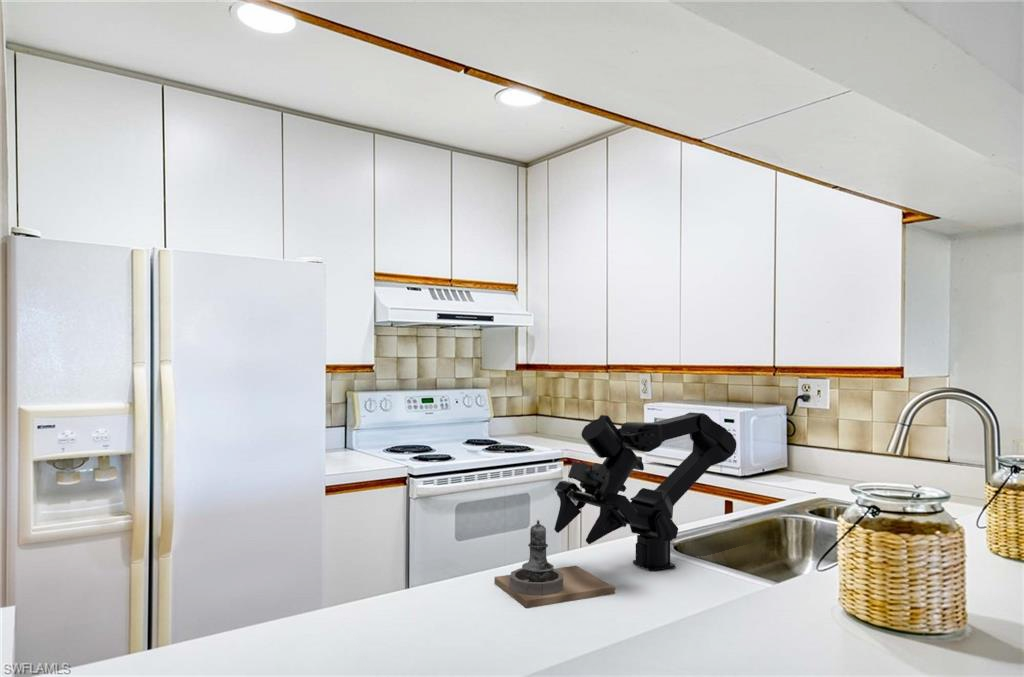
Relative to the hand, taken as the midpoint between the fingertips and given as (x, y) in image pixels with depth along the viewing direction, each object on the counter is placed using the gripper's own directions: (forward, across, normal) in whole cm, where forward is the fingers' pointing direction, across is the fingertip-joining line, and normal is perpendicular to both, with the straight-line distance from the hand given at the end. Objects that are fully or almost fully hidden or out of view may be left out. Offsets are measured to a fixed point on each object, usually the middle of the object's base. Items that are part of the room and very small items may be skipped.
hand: (571, 536), depth 122 cm
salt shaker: (+11, 0, 0) cm, 11 cm away
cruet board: (+9, 0, +3) cm, 10 cm away
